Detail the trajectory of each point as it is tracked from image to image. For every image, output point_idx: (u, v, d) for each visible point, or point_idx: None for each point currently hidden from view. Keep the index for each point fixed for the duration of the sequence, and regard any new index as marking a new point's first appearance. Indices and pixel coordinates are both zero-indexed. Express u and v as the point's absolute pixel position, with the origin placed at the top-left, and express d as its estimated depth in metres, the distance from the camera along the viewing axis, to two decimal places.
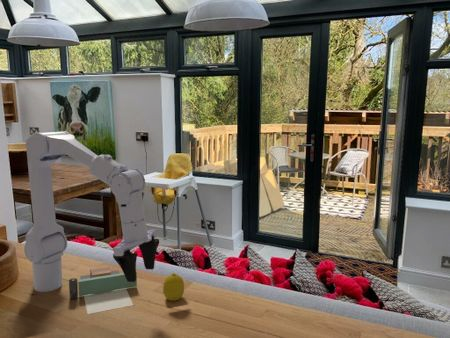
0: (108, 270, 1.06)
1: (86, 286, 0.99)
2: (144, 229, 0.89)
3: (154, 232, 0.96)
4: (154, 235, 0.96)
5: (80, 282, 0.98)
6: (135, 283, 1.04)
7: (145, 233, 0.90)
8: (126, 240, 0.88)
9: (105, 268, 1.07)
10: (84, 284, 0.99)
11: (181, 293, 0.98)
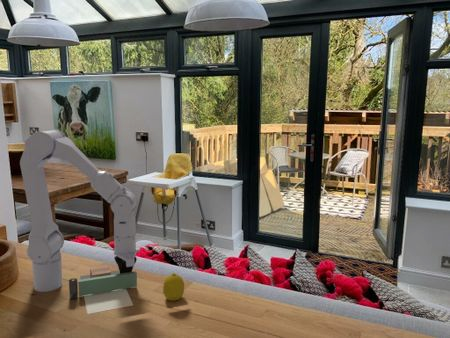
0: (108, 270, 1.06)
1: (86, 286, 0.99)
2: None
3: None
4: None
5: (80, 282, 0.98)
6: (135, 283, 1.04)
7: None
8: (124, 252, 1.01)
9: (105, 268, 1.07)
10: (84, 284, 0.99)
11: (181, 293, 0.98)
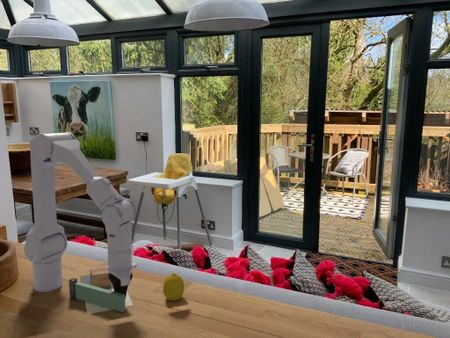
0: None
1: (80, 291, 0.96)
2: None
3: None
4: None
5: (76, 285, 0.97)
6: (121, 308, 0.91)
7: None
8: (119, 269, 0.91)
9: (105, 268, 1.07)
10: (79, 288, 0.96)
11: (181, 293, 0.98)
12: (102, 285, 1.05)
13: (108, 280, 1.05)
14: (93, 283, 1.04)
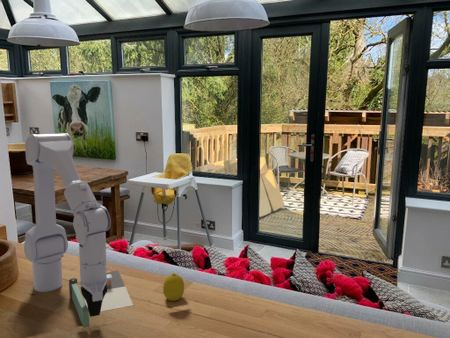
0: (108, 270, 1.06)
1: (73, 293, 0.95)
2: None
3: None
4: None
5: None
6: (83, 323, 0.84)
7: None
8: (92, 282, 0.84)
9: None
10: (72, 290, 0.95)
11: (181, 293, 0.98)
12: None
13: None
14: None
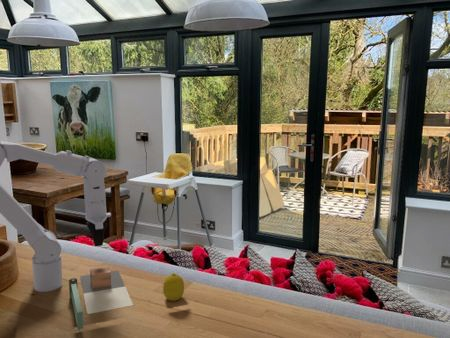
0: (108, 270, 1.06)
1: None
2: None
3: None
4: None
5: (71, 285, 0.96)
6: (77, 325, 0.84)
7: None
8: (95, 217, 1.06)
9: (105, 268, 1.07)
10: (71, 290, 0.95)
11: (181, 293, 0.98)
12: (102, 285, 1.05)
13: (108, 280, 1.05)
14: (93, 283, 1.04)
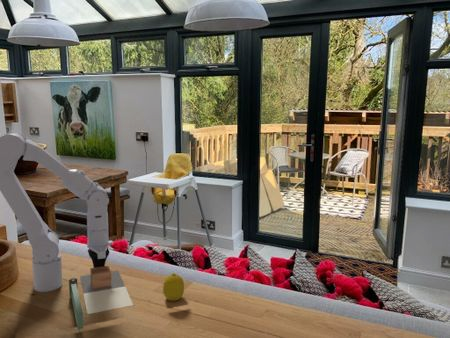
0: (108, 270, 1.06)
1: None
2: None
3: None
4: None
5: (71, 285, 0.96)
6: (77, 325, 0.84)
7: None
8: (97, 245, 1.06)
9: (106, 268, 1.07)
10: (71, 290, 0.95)
11: (181, 293, 0.98)
12: (102, 285, 1.05)
13: (108, 280, 1.05)
14: (93, 283, 1.03)
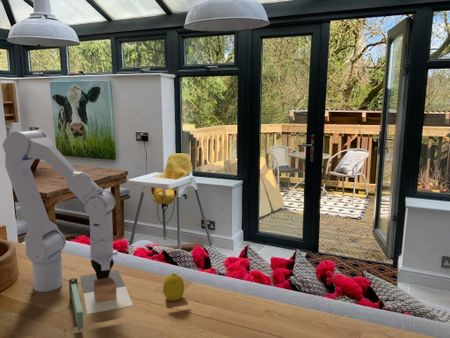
0: (113, 282, 0.99)
1: None
2: None
3: None
4: None
5: (71, 285, 0.96)
6: (77, 325, 0.84)
7: None
8: (100, 255, 0.99)
9: (110, 280, 1.00)
10: (71, 290, 0.95)
11: (181, 293, 0.98)
12: (107, 299, 0.97)
13: (113, 293, 0.98)
14: (97, 297, 0.96)
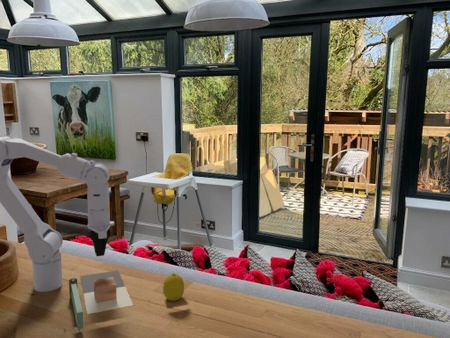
0: (113, 282, 0.99)
1: None
2: None
3: None
4: None
5: (71, 285, 0.96)
6: (77, 325, 0.84)
7: None
8: (97, 225, 1.01)
9: (110, 280, 1.00)
10: (71, 290, 0.95)
11: (181, 293, 0.98)
12: (107, 299, 0.97)
13: (113, 293, 0.98)
14: (97, 297, 0.96)
